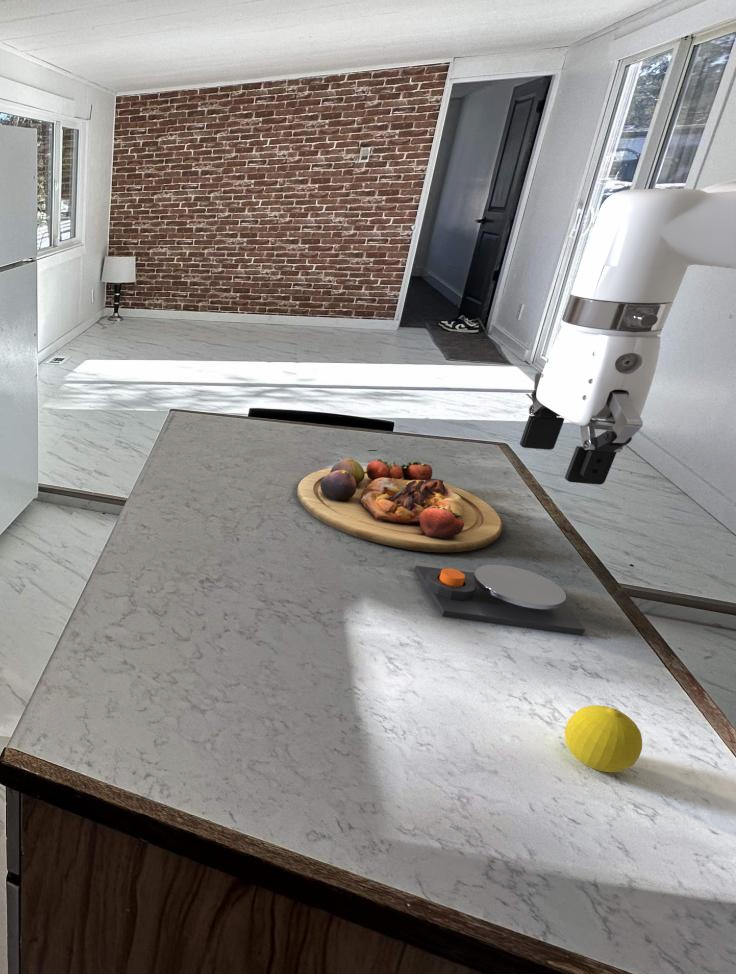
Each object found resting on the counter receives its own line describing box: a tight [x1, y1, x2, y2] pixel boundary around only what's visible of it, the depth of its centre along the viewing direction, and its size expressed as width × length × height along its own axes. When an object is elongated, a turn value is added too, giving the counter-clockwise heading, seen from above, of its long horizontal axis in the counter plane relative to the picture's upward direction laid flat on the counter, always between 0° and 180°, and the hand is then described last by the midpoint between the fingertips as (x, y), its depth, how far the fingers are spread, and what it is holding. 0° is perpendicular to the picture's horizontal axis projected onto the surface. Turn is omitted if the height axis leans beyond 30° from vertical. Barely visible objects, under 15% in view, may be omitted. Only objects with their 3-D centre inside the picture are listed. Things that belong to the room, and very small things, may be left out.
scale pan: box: [474, 564, 567, 610], centre depth 92 cm, size 10×10×1 cm
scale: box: [413, 565, 585, 637], centre depth 94 cm, size 16×12×4 cm
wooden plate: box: [296, 457, 503, 553], centre depth 120 cm, size 32×32×8 cm
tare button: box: [439, 567, 465, 587], centre depth 95 cm, size 3×3×2 cm
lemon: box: [564, 704, 643, 773], centre depth 67 cm, size 6×6×8 cm
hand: (558, 464), depth 73 cm, fingers open, 9 cm apart
